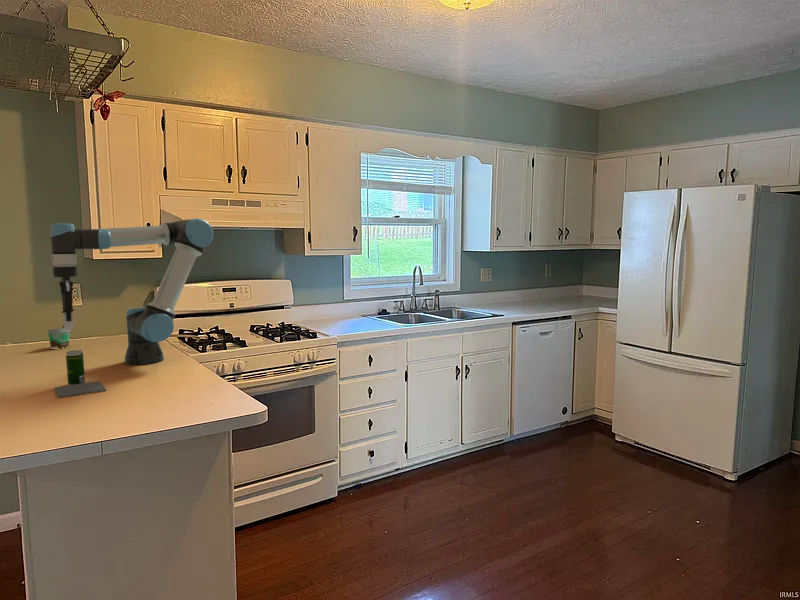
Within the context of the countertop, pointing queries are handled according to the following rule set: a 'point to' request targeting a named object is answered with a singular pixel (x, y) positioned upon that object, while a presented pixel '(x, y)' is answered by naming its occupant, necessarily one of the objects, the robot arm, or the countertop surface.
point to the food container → (59, 337)
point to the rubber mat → (79, 389)
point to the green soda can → (75, 367)
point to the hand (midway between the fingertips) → (69, 329)
